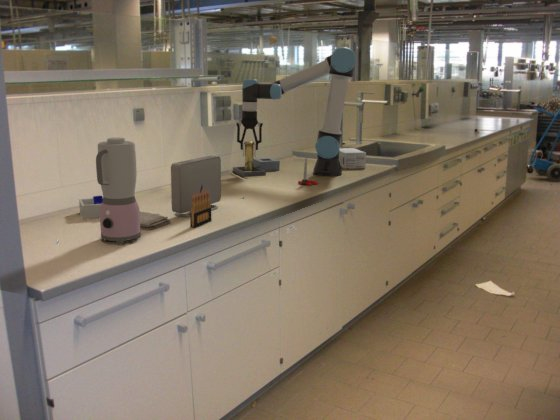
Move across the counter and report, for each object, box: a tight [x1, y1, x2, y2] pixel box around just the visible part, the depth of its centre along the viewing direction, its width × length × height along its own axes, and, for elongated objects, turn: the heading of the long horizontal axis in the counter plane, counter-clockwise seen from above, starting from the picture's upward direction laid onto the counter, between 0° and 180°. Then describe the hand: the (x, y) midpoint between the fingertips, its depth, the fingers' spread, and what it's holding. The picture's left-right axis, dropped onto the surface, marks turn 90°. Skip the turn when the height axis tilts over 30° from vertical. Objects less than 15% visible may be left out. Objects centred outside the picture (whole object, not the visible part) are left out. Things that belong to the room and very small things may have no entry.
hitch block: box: [253, 157, 281, 172], centre depth 299 cm, size 11×11×6 cm
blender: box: [95, 137, 142, 245], centre depth 171 cm, size 16×12×32 cm
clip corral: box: [78, 197, 103, 220], centre depth 206 cm, size 11×19×5 cm, turn 115°
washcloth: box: [140, 211, 171, 231], centre depth 195 cm, size 12×18×3 cm, turn 63°
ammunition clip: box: [189, 189, 213, 229], centre depth 194 cm, size 11×2×12 cm, turn 154°
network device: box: [170, 155, 222, 218], centre depth 210 cm, size 26×9×20 cm, turn 151°
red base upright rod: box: [297, 157, 319, 186], centre depth 268 cm, size 8×13×9 cm
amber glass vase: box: [243, 141, 255, 171], centre depth 285 cm, size 5×5×14 cm
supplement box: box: [339, 147, 367, 169], centre depth 321 cm, size 17×13×9 cm
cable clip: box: [92, 195, 103, 204], centre depth 206 cm, size 12×4×6 cm, turn 47°
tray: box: [232, 166, 267, 179], centre depth 287 cm, size 16×12×3 cm
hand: (249, 156), depth 285 cm, fingers closed on amber glass vase, 5 cm apart
